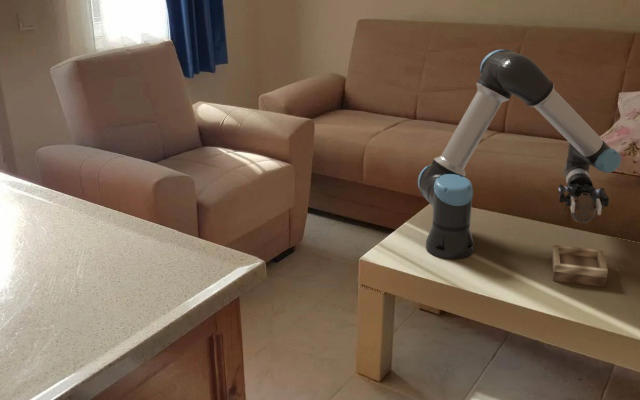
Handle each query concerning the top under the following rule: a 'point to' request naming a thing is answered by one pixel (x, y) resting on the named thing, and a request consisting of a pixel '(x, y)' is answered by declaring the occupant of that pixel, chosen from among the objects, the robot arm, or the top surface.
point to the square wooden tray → (578, 265)
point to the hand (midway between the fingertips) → (586, 209)
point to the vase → (584, 208)
